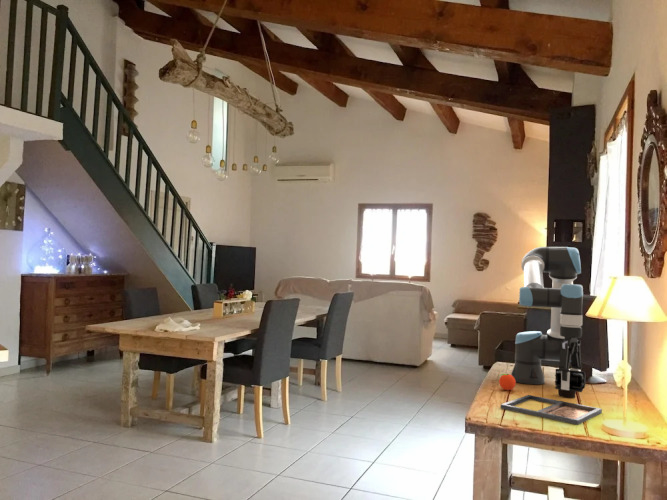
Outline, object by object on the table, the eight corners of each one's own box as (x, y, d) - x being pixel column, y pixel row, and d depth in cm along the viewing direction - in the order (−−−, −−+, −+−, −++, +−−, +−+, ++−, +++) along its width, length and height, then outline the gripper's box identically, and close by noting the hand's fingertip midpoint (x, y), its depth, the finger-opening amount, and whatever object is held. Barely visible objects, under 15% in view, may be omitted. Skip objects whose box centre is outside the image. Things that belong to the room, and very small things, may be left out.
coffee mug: (557, 392, 244) (558, 369, 244) (579, 395, 240) (579, 372, 240) (553, 398, 234) (553, 373, 234) (575, 401, 230) (576, 376, 230)
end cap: (585, 389, 209) (585, 370, 210) (583, 392, 203) (583, 373, 203) (556, 385, 214) (556, 367, 214) (553, 388, 208) (554, 370, 208)
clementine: (495, 390, 245) (496, 374, 245) (496, 387, 252) (497, 371, 252) (515, 392, 242) (515, 375, 243) (515, 389, 249) (516, 372, 249)
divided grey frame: (528, 398, 232) (528, 394, 232) (601, 412, 212) (601, 408, 212) (500, 408, 214) (500, 404, 214) (577, 424, 195) (577, 420, 195)
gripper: (571, 323, 219) (570, 382, 219) (549, 326, 204) (548, 390, 204) (591, 325, 214) (590, 385, 214) (570, 328, 199) (569, 393, 198)
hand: (569, 387), depth 209 cm, fingers closed on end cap, 8 cm apart
